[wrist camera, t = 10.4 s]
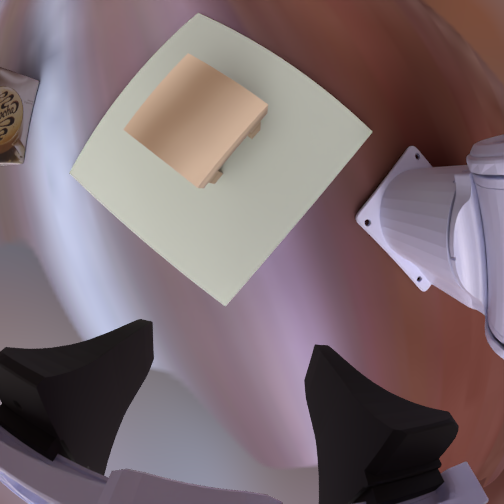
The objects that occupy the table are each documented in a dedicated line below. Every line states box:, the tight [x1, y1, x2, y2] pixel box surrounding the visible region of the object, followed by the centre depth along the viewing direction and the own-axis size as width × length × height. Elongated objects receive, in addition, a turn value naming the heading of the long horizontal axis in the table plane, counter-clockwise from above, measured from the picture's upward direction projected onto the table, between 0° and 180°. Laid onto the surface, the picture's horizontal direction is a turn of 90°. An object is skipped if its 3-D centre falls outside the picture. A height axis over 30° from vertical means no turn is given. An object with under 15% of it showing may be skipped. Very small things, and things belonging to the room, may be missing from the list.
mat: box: [70, 13, 372, 306], centre depth 18 cm, size 17×17×1 cm
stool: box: [124, 53, 268, 188], centre depth 15 cm, size 5×5×6 cm
